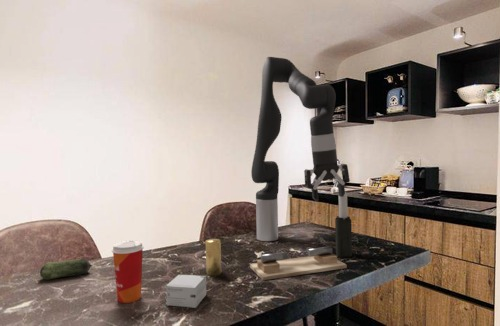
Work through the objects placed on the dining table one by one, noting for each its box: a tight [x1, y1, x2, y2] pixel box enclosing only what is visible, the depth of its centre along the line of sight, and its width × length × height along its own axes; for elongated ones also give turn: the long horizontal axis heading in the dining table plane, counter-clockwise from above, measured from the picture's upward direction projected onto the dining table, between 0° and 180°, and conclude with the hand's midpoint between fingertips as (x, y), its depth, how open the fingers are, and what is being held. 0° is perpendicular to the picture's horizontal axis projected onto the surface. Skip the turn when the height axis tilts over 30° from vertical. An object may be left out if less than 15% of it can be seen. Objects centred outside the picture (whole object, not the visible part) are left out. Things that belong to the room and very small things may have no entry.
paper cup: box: [111, 240, 145, 304], centre depth 83 cm, size 8×8×14 cm
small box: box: [165, 274, 207, 309], centre depth 82 cm, size 8×8×5 cm
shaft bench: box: [249, 253, 348, 281], centre depth 104 cm, size 12×28×3 cm, turn 108°
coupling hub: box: [205, 238, 222, 277], centre depth 100 cm, size 5×5×10 cm
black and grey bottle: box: [334, 191, 353, 258], centre depth 116 cm, size 5×5×25 cm
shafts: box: [260, 246, 333, 263], centre depth 103 cm, size 2×24×2 cm, turn 108°
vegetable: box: [39, 258, 93, 281], centre depth 100 cm, size 14×5×5 cm, turn 114°
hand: (329, 198), depth 105 cm, fingers open, 8 cm apart
